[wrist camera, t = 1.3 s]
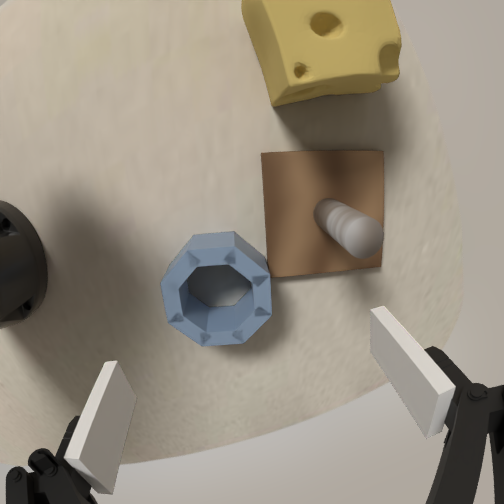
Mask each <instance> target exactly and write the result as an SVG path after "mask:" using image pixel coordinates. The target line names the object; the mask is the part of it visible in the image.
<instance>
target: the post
mask: <svg viewBox="0 0 504 504" xmlns="http://www.w3.org/2000/svg"><path fill="white" fill-rule="evenodd" d="M261 162H262V178H263V194H264V210H265V228H266V245H267V263H268V270H269V273H270V278H274V277H285V276H295V275H306V274H316V273H326V272H336V271H345V270H355V269H364V268H373V267H381V260H382V244H383V240H384V232H383V219H384V155H383V151H355V150H332V151H290V152H268V153H261Z"/></svg>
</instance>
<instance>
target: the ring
mask: <svg viewBox="0 0 504 504" xmlns="http://www.w3.org/2000/svg"><path fill="white" fill-rule="evenodd" d="M225 264H229V265H230V266H232V267H233V268H234V269H235V270H237V271H238V272H239V273H240V274H242V275H243V276H244V277H246V278H247V279H248V280H249V281H251V288H250V290H249V291H248V292H247V293H246V294H245V295H244V296H243V297H242V298H241V299H240V300H239V301H238V302H237V303H236V304H235V306H222V307H208V306H207V305H205V304H204V303H202V302H201V301H200V300H198V299H197V298H196V297H194V296H193V295H192V294H190V293H189V288H188V282H187V278H188V277H189V276H190V274H191V273H192V272H193V271H194V270H195V268H196V267H200V266H213V265H225ZM160 284H161V290H162V295H163V300H164V306H165V311H166V315H167V320H168V323H169V324H170V325H172V326H173V327H175V328H176V329H177V330H179V331H180V332H182V333H183V334H185V335H186V336H188V337H189V338H190V339H192V340H193V341H195V342H196V343H198V344H199V345H201V346H215V345H229V344H242V343H244V342H245V341H246V340H247V339H248V338H249V337H251V336H252V335H253V334H254V333H255V332H256V331H257V330H258V329H259V328H260V327H261V326H262V325H263V324H264V323H265V322H266V321H267V320H268V319H269V318H270V317H271V316H272V305H271V284H270V273H269V270H268V267H267V264H266V261H265V257H264V256H263V255H262V254H261V253H260V252H258V251H257V250H256V249H255V248H254V247H252V246H251V245H250V244H249V243H247V242H246V241H245V240H244V239H243V238H241V237H240V236H239V235H238V234H236V233H235V232H234V231H233V232H221V233H209V234H198V235H193V236H192V238H191V239H190V240H189V241H188V243H187V244H186V245H185V246H184V247H183V249H182V250H181V251H180V252H179V254H178V255H177V256H176V257H175V259H174V260H173V261H172V262H171V264H170V265H169V267H168V269H167V271H166V273H165V275H164V277H163V279H162V281H161V283H160Z"/></svg>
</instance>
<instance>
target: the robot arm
mask: <svg viewBox="0 0 504 504" xmlns="http://www.w3.org/2000/svg"><path fill="white" fill-rule="evenodd" d="M46 287H47V266H46V260H45V255H44V252H43V248H42V245H41V243H40V240H39V238H38V236H37V234H36V232H35V230H34V228H33V227H32V225H31V224H30V222H29V221H28V219H27V218H26V217H25V216H24V215H23V214H22V213H21V212H20V211H19V210H18V209H17V208H15V207H14V206H13V205H11V204H9V203H7V202H4V201H0V329H2V328H5V327H8V326H11V325H14V324H18V323H20V322H22V321H24V320H25V319H27V318H28V317H29V316H30V315H31V314H32V313H33V312H34V311H35V310H36V309H37V308H38V307H39V306H40V304H41V303H42V301H43V298H44V296H45V292H46ZM370 352H371V354H372V355H373V357H374V358H375V360H376V361H377V363H378V364H379V366H380V367H381V369H382V370H383V372H384V373H385V375H386V376H387V378H388V379H389V381H390V382H391V384H392V386H393V387H394V389H395V390H396V392H397V393H398V395H399V396H400V398H401V399H402V401H403V403H404V404H405V406H406V407H407V409H408V410H409V412H410V414H411V415H412V417H413V418H414V420H415V422H416V423H417V425H418V426H419V428H420V429H421V431H422V433H423V434H424V436H425V438H426V439H427V438H429V437H431V436H433V435H436V434H437V433H440V432H441V431H442V429H443V426H444V423H445V424H446V426H447V427H448V429H449V430H448V433H447V435H446V438H445V441H444V443H445V445H444V448H443V452H442V456H441V459H440V463H439V466H438V469H437V473H436V476H435V479H434V482H433V485H432V488H431V491H430V493H429V496H428V499H427V501H426V504H473V501H474V498H475V494H476V489H477V486H478V481H479V477H480V472H481V467H482V462H483V456H484V450H485V444H486V437H487V434H488V433H489V436H490V444H491V452H492V463H493V475H494V493H495V504H504V385H501V386H497V387H492V388H487V387H486V386H485V385H483V384H479V383H472V382H471V381H470V380H469V379H468V378H467V377H466V376H465V375H464V374H463V372H462V371H461V370H460V369H459V368H458V367H457V366H456V365H455V364H454V363H453V362H452V360H451V359H449V357H448V356H447V355H446V354H445V353H444V352H443V351H442V350H440V349H438V348H436V347H434V346H432V347H429V348H427V349H423V348H422V347H421V346H420V345H419V344H418V343H417V342H416V340H415V339H414V338H413V337H412V336H411V335H410V334H409V333H408V332H407V330H406V329H405V328H404V327H403V326H402V325H401V324H400V323H399V322H398V321H397V320H396V318H395V317H394V316H393V315H392V314H391V313H390V312H389V311H388V310H387V309H386V308H385V307H384V306H380V307H377V308H373V309H370ZM136 400H137V397H136V395H135V393H134V392H133V390H132V388H131V386H130V384H129V382H128V380H127V378H126V376H125V375H124V373H123V371H122V369H121V367H120V365H119V363H118V361H108V362H105V363H104V365H103V368H102V370H101V372H100V374H99V376H98V378H97V380H96V383H95V385H94V387H93V389H92V391H91V394H90V396H89V398H88V400H87V403H86V405H85V407H84V410H83V412H82V414H81V416H75V417H74V419H73V420H72V421H71V422H70V423H69V425H68V427H67V430H66V433H65V434H64V437H63V438H64V439H62V441H61V444H60V446H59V449H58V451H57V453H56V456H54V455H53V454H52V453H51V452H50V451H49V450H48V449H45V448H41V449H38V450H36V451H34V452H33V453H32V454H31V455H30V457H29V459H28V466H29V467H30V468H31V469H32V470H33V471H34V472H31V473H28V472H27V471H26V470H25V469H24V468H23V467H20V466H18V467H14V468H12V469H11V470H10V471H9V472H8V474H7V476H6V504H97V502H96V500H95V498H94V497H93V495H92V494H91V493H90V490H91V487H92V488H93V489H94V490H95V491H96V492H98V493H101V494H113V490H114V486H115V482H116V477H117V473H118V469H119V465H120V461H121V457H122V453H123V449H124V445H125V441H126V437H127V433H128V429H129V426H130V422H131V418H132V414H133V411H134V407H135V404H136Z"/></svg>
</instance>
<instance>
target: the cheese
mask: <svg viewBox="0 0 504 504" xmlns="http://www.w3.org/2000/svg"><path fill="white" fill-rule="evenodd" d="M241 9H242V15H243V19H244V22H245V25H246V27H247V30H248V33H249V35H250V38H251V41H252V43H253V46H254V49H255V52H256V54H257V57H258V60H259V62H260V65H261V68H262V72H263V75H264V79H265V82H266V86H267V90H268V93H269V97H270V101H271V105H272V106H280V105H284V104H289V103H293V102H298V101H303V100H308V99H312V98H316V97H319V96H323V95H329V94H334V95H342V94H355V93H371V92H375V91H377V90H379V89H380V88H381V83H390V82H393V81H395V80H397V78H398V77H399V74H400V71H399V65H398V59H399V54H400V50H401V35H400V30H399V27H398V24H397V21H396V17H395V14H394V11H393V7H392V4H391V1H390V0H242V7H241Z"/></svg>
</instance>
